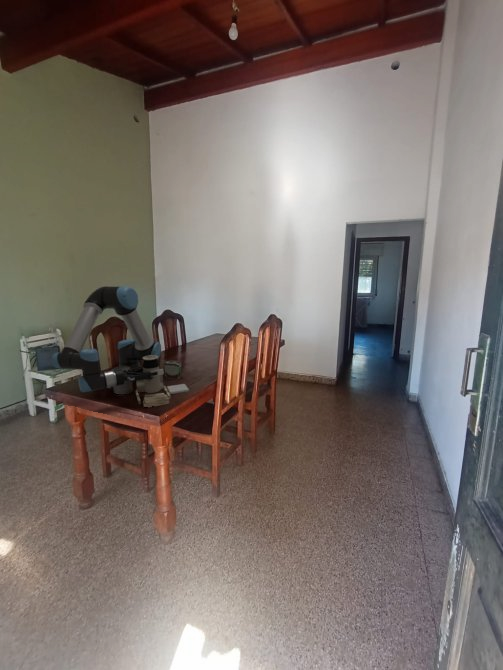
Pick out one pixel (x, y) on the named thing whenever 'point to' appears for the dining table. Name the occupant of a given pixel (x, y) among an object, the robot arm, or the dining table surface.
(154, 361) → the travel mug
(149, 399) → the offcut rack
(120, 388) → the pillar candle
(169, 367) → the food container
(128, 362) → the robot arm
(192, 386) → the dining table surface
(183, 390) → the mat
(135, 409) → the dining table surface
